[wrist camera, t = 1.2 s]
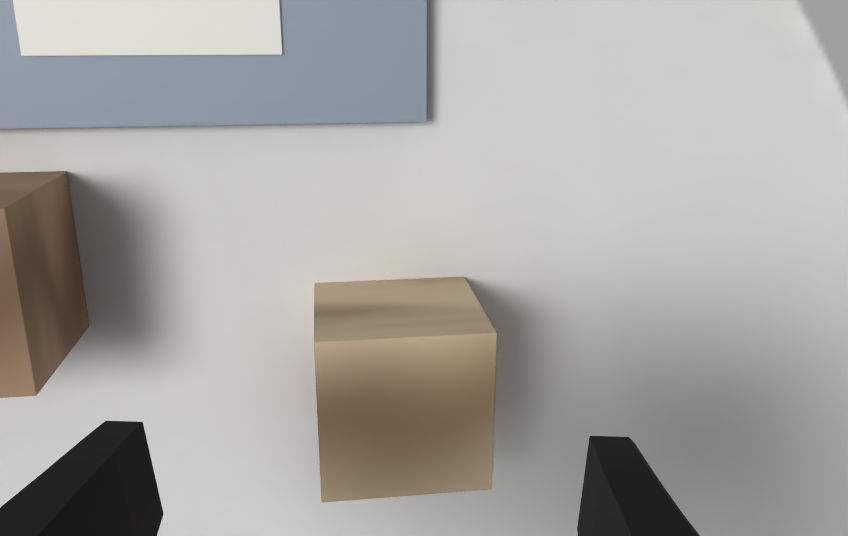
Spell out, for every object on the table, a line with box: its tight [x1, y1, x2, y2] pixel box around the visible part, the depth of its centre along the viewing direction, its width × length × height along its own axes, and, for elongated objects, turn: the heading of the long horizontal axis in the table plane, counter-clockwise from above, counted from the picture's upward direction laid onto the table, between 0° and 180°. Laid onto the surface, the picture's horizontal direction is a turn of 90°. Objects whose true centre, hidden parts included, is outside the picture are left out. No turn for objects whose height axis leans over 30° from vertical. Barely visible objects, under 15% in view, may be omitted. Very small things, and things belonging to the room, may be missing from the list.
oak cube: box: [314, 277, 497, 502], centre depth 22 cm, size 4×4×4 cm
